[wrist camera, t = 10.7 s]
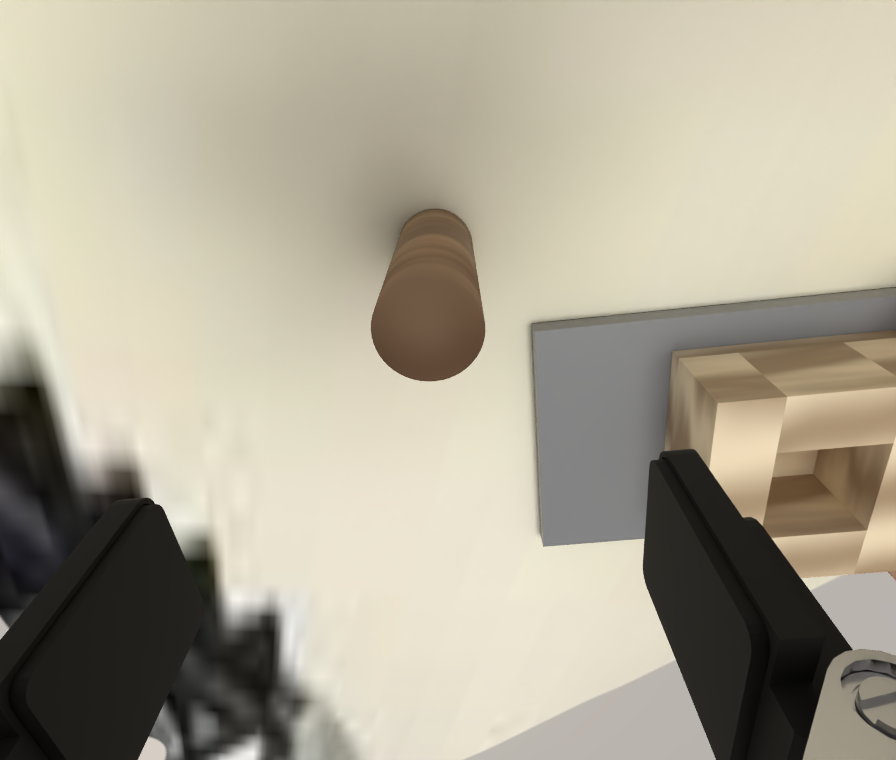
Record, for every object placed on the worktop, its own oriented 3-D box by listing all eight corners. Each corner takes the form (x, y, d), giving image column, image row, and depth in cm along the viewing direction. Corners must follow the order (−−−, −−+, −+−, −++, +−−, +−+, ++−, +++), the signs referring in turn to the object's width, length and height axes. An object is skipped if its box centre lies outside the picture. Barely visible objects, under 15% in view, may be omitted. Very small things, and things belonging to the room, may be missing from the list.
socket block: (672, 351, 32) (717, 403, 26) (891, 329, 31) (983, 378, 26) (658, 515, 37) (694, 586, 32) (845, 499, 37) (913, 569, 31)
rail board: (531, 323, 32) (559, 401, 24) (927, 284, 31) (1097, 352, 23) (540, 534, 40) (564, 649, 31) (861, 508, 38) (973, 620, 30)
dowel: (393, 213, 30) (361, 281, 19) (469, 204, 29) (480, 269, 19) (404, 286, 31) (381, 386, 21) (475, 278, 31) (489, 375, 20)
